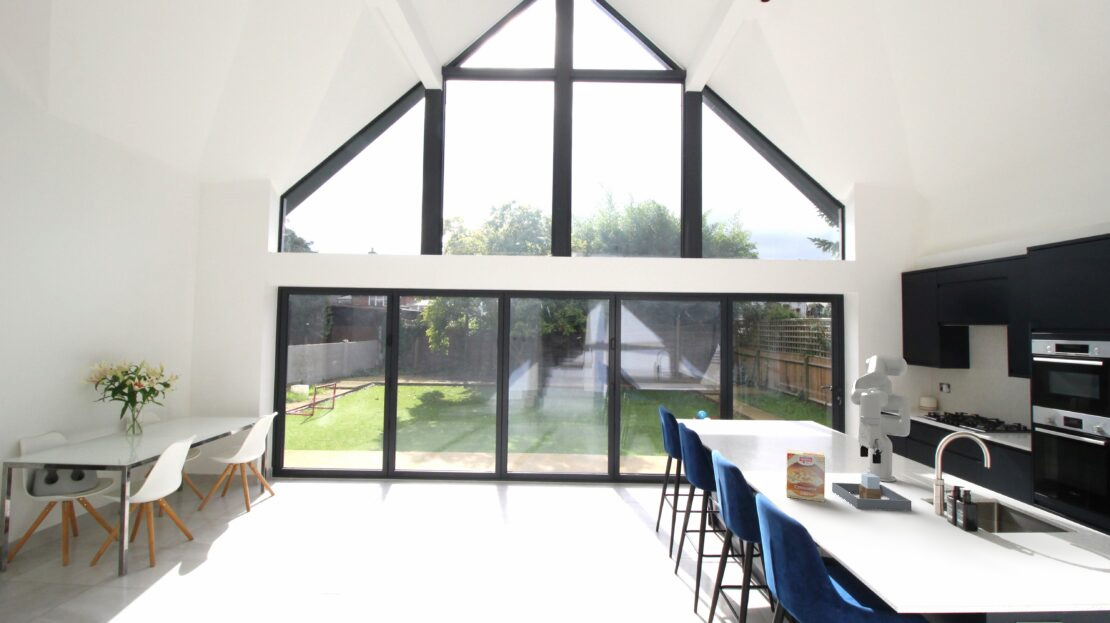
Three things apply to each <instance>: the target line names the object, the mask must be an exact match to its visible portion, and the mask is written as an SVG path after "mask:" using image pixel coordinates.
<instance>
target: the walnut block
mask: <svg viewBox="0 0 1110 623" xmlns="http://www.w3.org/2000/svg"><path fill="white" fill-rule="evenodd" d="M858 484H859V493H858V498H863V499H882V494H881V489H867V488H866V487H864V486H862V485H861V483H858Z"/></svg>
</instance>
